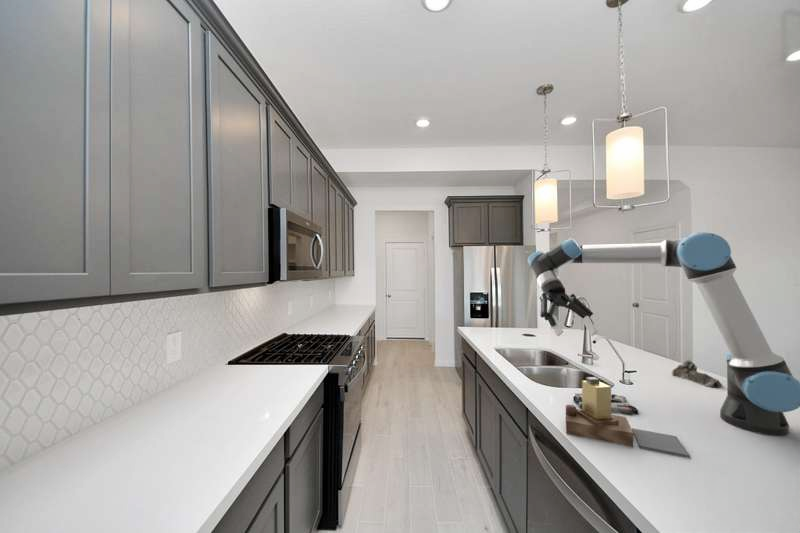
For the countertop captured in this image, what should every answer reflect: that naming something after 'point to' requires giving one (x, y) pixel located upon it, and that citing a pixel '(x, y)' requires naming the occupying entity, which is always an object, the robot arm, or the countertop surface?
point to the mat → (660, 443)
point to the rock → (695, 375)
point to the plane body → (598, 427)
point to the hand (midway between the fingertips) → (577, 333)
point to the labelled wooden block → (596, 399)
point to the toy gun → (612, 404)
